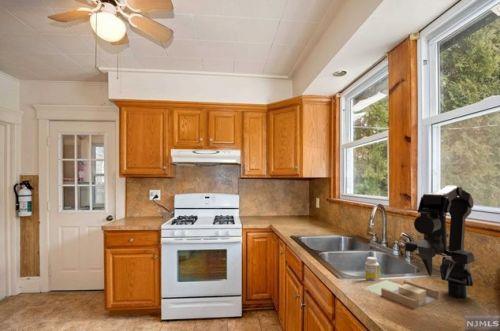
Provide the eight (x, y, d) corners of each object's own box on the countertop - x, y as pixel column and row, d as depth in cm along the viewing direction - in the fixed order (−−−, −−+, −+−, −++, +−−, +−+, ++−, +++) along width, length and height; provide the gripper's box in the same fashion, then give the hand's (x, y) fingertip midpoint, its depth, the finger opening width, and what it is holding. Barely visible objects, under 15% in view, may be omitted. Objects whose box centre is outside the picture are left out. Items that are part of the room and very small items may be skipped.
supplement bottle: (374, 279, 120) (374, 255, 121) (382, 283, 115) (381, 259, 115) (363, 279, 120) (362, 256, 120) (369, 284, 114) (369, 260, 115)
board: (438, 301, 98) (438, 290, 98) (415, 313, 90) (414, 301, 90) (386, 283, 115) (386, 274, 115) (362, 291, 107) (362, 281, 107)
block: (398, 297, 98) (398, 286, 98) (406, 294, 101) (405, 283, 101) (418, 305, 92) (418, 293, 92) (426, 302, 95) (426, 290, 95)
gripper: (395, 228, 94) (396, 273, 93) (458, 238, 78) (460, 293, 77) (412, 225, 100) (413, 268, 99) (473, 234, 84) (476, 285, 83)
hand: (437, 277), depth 90 cm, fingers open, 4 cm apart
